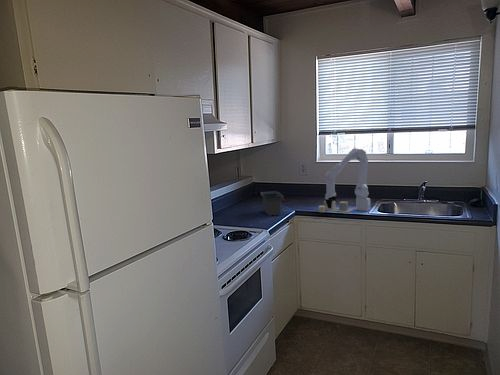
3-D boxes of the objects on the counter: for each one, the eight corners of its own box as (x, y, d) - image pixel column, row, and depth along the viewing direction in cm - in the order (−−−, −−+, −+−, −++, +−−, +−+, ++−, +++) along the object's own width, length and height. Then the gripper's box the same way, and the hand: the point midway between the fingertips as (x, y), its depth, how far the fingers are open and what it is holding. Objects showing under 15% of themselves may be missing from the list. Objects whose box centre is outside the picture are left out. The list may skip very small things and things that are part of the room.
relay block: (325, 211, 271) (325, 205, 270) (324, 212, 267) (323, 207, 266) (319, 210, 272) (319, 205, 272) (318, 212, 269) (318, 206, 268)
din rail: (352, 210, 269) (352, 201, 268) (348, 212, 263) (348, 203, 262) (324, 207, 282) (323, 198, 281) (319, 209, 276) (319, 201, 275)
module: (335, 209, 265) (335, 200, 264) (333, 210, 262) (332, 201, 261) (328, 208, 268) (328, 200, 267) (326, 209, 265) (326, 201, 264)
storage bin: (259, 210, 282) (259, 191, 279) (279, 208, 284) (279, 190, 282) (266, 217, 261) (265, 197, 258) (287, 215, 264) (287, 195, 261)
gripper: (329, 186, 270) (329, 204, 273) (320, 190, 259) (321, 209, 261) (338, 186, 266) (339, 205, 269) (330, 190, 255) (330, 210, 257)
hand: (330, 207), depth 265 cm, fingers closed on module, 4 cm apart
